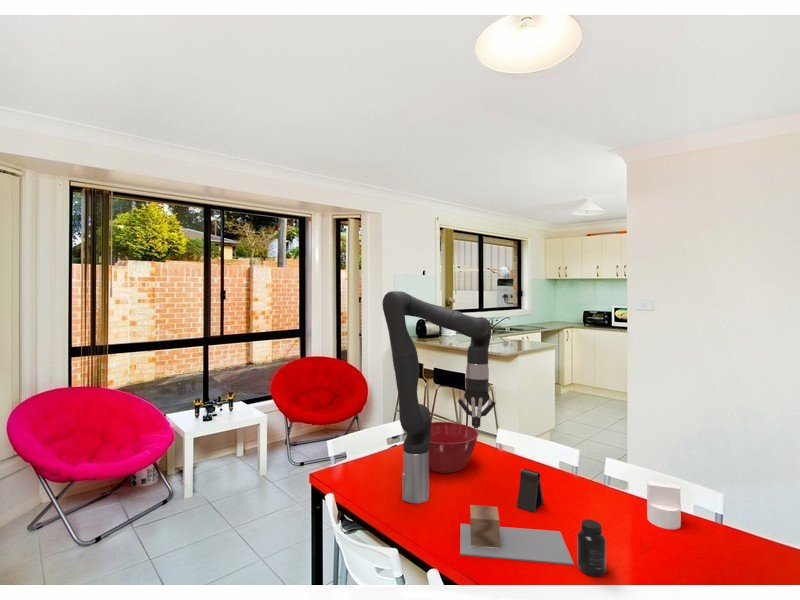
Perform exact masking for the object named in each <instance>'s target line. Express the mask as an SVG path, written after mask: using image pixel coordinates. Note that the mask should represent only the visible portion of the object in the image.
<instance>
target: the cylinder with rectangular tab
mask: <svg viewBox="0 0 800 600" xmlns="http://www.w3.org/2000/svg"><path fill="white" fill-rule="evenodd" d="M646 500H647V501H646V506H647V507H646V508H647V509H646V513H647V517H646V518H647V521H649V522H650V523H651V524H652V525H654V526H656V527H659V528H661V529H666V530H677V529H680V528H681V526H682V519H681V515H682V514H681V512H682V511H681V509H682V508H681V507H682V506H681V500H682V499H681V487H680V486H679V485H678V484H673V483H665V482H658V481H657V482H656V481H646Z"/></svg>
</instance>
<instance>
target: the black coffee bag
mask: <svg viewBox="0 0 800 600" xmlns="http://www.w3.org/2000/svg"><path fill="white" fill-rule="evenodd" d="M519 475H520V476H519V477H520V478H519V486H518V487H519V488H518V495H517V502H516V508H518V509H521V510H524V511H526V512H527V511H528V512H530V513H533V514H534V513H536V512H537V510H538V509H539V508H540V507H541V506H542V505H543V504H544V503H545V501H544V494H543V490H542V483H541V473H540V472H538V471H534V470H531V469H527V468H521V469H520V473H519Z"/></svg>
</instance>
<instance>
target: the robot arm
mask: <svg viewBox="0 0 800 600" xmlns="http://www.w3.org/2000/svg"><path fill="white" fill-rule="evenodd" d="M382 311H383V314H384V319H385V322H386V325H387V330H388V336H389V343H390V348H391V356H392V358H391V359H392V363H393V371H394V376H395V381H396V382H395V383H396V388H397V395H398V397H397V398H398V409H399V410H398V413H399V422H400V426H401V429H402V430H403V431H404V432H405V433H406V436H405V439H404V441H403V446H402V450H403V452H402V453H403V456H402V458H403V459H402V460H403V462H402V464H403V466H402V468H403V469H402V470H403V471H402V474H401V478H402V480H401V481H402V483H401V485H402V487H401V488H402V491H401V493H402V497H401V498H402V499H401V500H402V501H404V502H408V503H411V504H421V503H422V504H423V503H425V502H427V501H429V498H430V488H429V487H430V473H429V472H430V469H429V444H430V439H431V422H432V415H431V411H430V410H429V408H428V407H427V406H426V405H424V404H422V403H420V402H419V399H418V387H419V386H418V383H419V378H420V361H419V357H418V351H417V348H416V345H415V343H414V341H413V339H412V337H411V335H410V333H409V331H408V328H407V322H406V317H408V316H409V317H416V318H419V319H423V320H425V321H428V322H429V323H430V324H433V325H435V326H438V327H440V328H442V329H443V328H444V329H446V330H449V331H453V332H456V333H459V334H460V335H464V336H465V337H468V338H470V345H469V346H468V347H467V352H466V353H467V356H466V357H467V359H466V361H467V362H466V369H465V391H464V394H463V396H462V397H460V398H458V399H457V402H458V404H459V405H460V406H461V408H462V409H463V411H464V412H465V413H466V415H467V416H470V417H471V427H473V428H474V429H479V428H480V427H481V418H482V417H485V416H486V417H487V415H488V413H490V412H491V410H493V408H494V407H495V406H496V401H495V400H494V399H492V398H491V397H490V393H489V379H490V377H489V376H490V372H489V371H490V369H489V368H490V367H489V347H490V343H491V342H490V341H491V338H492V326H491V323H490V321H489V320H488V319H487V318H486V317H483V316H477V317H476V316H471V315H468V314H465V313H463V312H462V311H459V310H456V309H453V308H448V307H445V306H442V305H437V304H433V303H431V302H430V303H429V302H427V301H424V300H422V299H419V298H416V297H415V296H413V295H411V294H410V293H407V292H405V291H394V290H392V291H391V290H390V291H388V292H387V293H386V294H385V295H384V297H383V298H382ZM466 402H467V403H468V405H469V406H470V407H471V410H470V408H469V407H468V406H467V404H466ZM486 404H487V406H485V405H486ZM484 406H485V408H484V409H483V408H482V407H484ZM476 407H477V410H476ZM482 409H483V410H482Z"/></svg>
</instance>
